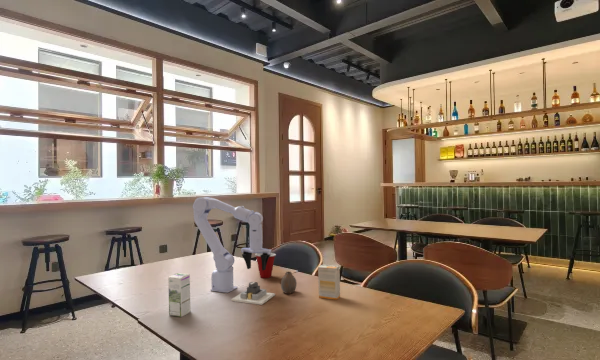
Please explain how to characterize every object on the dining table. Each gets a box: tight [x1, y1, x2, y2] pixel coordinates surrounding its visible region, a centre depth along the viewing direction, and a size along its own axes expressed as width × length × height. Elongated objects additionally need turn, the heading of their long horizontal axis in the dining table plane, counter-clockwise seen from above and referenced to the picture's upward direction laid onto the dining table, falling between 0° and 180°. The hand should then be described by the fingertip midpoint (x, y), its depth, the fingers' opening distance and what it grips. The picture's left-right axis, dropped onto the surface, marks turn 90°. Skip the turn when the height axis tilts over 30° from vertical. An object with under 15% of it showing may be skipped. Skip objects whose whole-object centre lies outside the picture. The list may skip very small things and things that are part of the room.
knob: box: [246, 281, 261, 299], centre depth 141 cm, size 6×4×6 cm
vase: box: [280, 271, 297, 294], centre depth 149 cm, size 7×7×9 cm
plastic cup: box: [254, 252, 277, 279], centre depth 174 cm, size 11×11×12 cm
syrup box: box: [167, 272, 192, 318], centre depth 126 cm, size 6×6×14 cm
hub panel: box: [231, 288, 276, 306], centre depth 142 cm, size 14×12×3 cm
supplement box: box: [317, 264, 341, 301], centre depth 141 cm, size 8×5×13 cm, turn 65°
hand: (256, 269), depth 153 cm, fingers open, 7 cm apart
